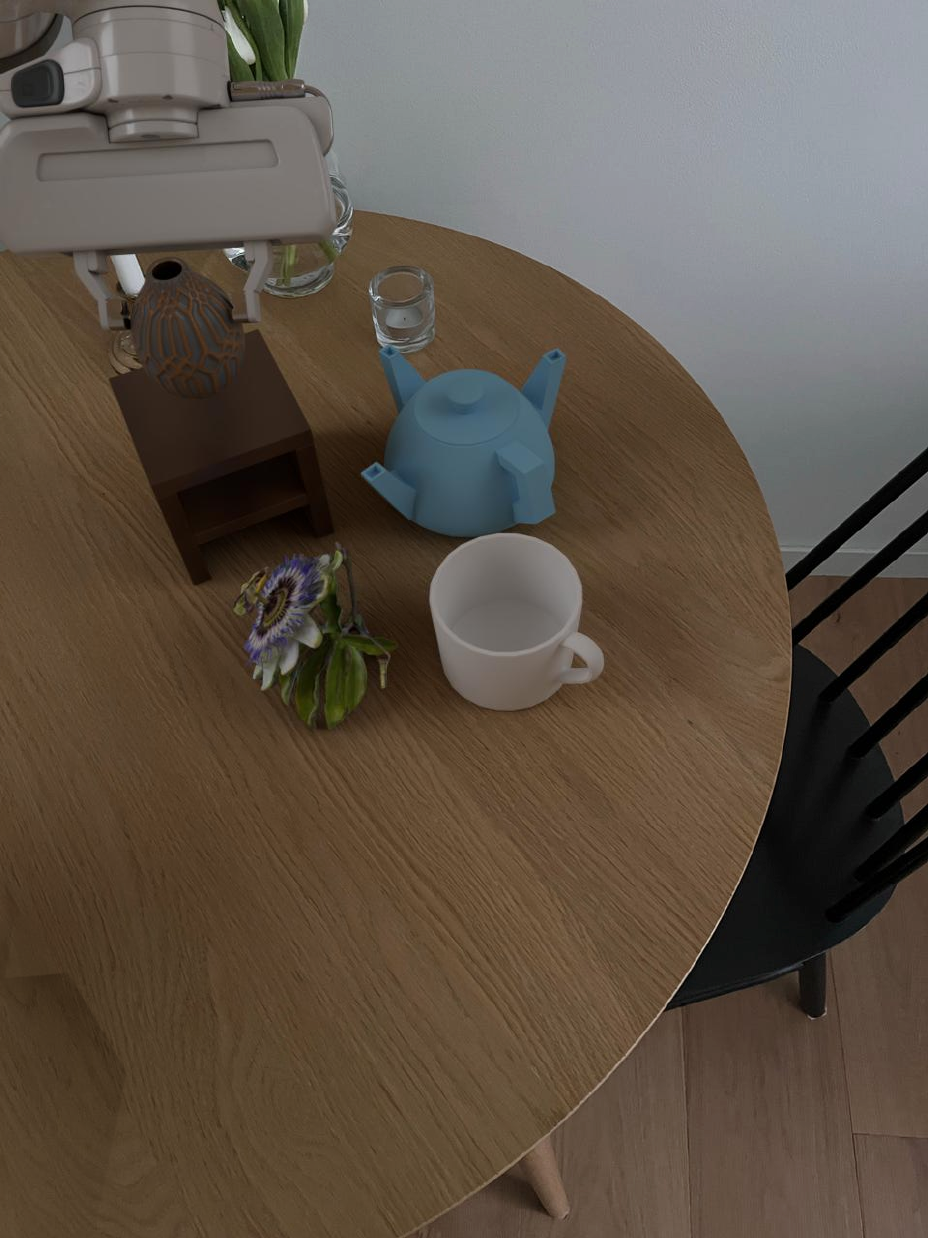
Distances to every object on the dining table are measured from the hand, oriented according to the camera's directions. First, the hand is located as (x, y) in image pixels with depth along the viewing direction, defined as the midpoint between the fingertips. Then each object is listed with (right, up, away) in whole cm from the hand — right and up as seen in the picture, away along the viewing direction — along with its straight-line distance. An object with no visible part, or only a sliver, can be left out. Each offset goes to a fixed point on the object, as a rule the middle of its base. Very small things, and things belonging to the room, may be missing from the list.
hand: (181, 326), depth 66 cm
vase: (0, -2, +5) cm, 5 cm away
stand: (-1, -9, +22) cm, 24 cm away
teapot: (+18, -7, +23) cm, 30 cm away
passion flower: (+7, -21, +14) cm, 26 cm away
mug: (+22, -22, +13) cm, 33 cm away
